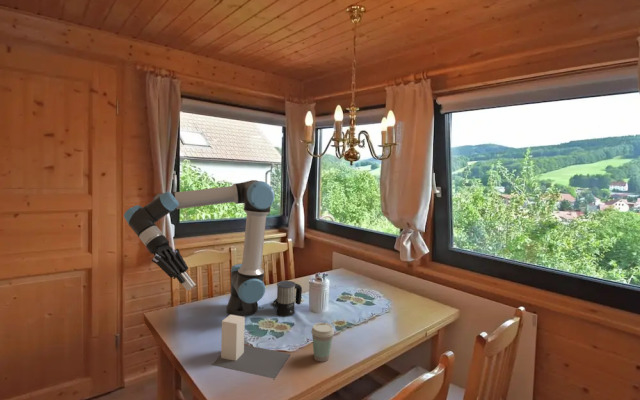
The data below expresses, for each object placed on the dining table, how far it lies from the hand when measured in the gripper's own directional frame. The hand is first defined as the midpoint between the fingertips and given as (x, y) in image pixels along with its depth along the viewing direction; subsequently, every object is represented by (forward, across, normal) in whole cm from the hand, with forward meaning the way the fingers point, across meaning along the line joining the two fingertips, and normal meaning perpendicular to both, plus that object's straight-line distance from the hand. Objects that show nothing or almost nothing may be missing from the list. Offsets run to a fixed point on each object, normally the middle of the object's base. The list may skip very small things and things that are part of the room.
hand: (191, 287), depth 129 cm
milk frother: (+31, -46, -3) cm, 56 cm away
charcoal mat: (+35, 0, +1) cm, 35 cm away
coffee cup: (+52, -11, +18) cm, 56 cm away
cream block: (+29, 0, -4) cm, 30 cm away
